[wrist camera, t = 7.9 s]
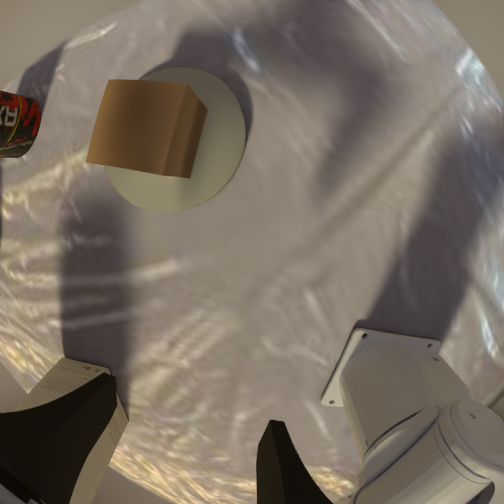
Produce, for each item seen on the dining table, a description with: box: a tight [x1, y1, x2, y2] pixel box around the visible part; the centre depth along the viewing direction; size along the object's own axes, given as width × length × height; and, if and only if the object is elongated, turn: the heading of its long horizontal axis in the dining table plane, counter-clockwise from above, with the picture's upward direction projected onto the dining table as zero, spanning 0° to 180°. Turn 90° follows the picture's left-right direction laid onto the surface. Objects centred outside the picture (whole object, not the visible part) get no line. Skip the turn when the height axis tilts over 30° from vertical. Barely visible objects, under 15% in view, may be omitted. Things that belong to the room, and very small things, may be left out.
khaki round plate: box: [104, 67, 246, 213], centre depth 17 cm, size 10×10×2 cm
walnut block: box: [86, 80, 208, 178], centre depth 14 cm, size 4×4×5 cm
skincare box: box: [13, 358, 129, 504], centre depth 16 cm, size 8×7×16 cm
